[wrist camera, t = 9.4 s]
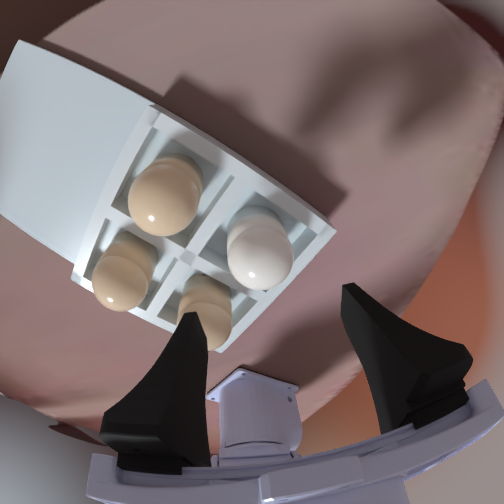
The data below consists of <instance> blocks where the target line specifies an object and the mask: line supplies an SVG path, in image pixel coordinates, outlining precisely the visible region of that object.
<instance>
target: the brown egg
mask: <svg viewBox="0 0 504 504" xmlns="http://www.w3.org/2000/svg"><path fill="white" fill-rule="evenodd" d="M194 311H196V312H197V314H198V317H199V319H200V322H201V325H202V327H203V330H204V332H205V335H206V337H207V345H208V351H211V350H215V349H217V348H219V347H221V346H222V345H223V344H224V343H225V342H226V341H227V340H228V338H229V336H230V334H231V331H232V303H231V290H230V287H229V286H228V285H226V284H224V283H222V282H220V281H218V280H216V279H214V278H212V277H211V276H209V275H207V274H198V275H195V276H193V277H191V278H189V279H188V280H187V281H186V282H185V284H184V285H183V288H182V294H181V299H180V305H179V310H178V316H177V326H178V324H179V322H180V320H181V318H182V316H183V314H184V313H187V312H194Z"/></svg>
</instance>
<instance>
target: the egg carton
mask: <svg viewBox="0 0 504 504" xmlns="http://www.w3.org/2000/svg"><path fill="white" fill-rule="evenodd" d="M168 153H180V154H184V155H187V156H189V157H190V158H192V159H193V160H194V161H195V162H196V163H197V164H198V165H199V167H200V168H201V171H202V173H203V178H204V187H203V191H202V195H201V199H200V202H199V206H198V210H197V213H196V215H195V217H194V219H193V220H192V222H191V223H190V224H189V225H188V226H187V227H186V228H185V229H183V230H182V231H180V232H178V233H176V234H174V235H170V236H155V235H151V234H149V233H147V232H145V231H143V230H142V229H141V228H139V227H138V226H137V225H136V223H135V222H134V221H133V219H132V217H131V215H130V212H129V208H128V193H129V190H130V187H131V185H132V183H133V181H134V180H135V178H136V177H137V176H138V175H139V174H140V173H141V172H142V171H143V170H144V169H145V168H146V167H148V166H149V165H150V164H151V163H152V162H153V161H154V160H155V159H157V158H158V157H160V156H162V155H164V154H168ZM254 205H258V206H264V207H267V208H269V209H271V210H273V211H274V212H275V213H276V214H277V215H278V216H279V217H280V219H281V221H282V224H283V226H284V228H285V231H286V233H287V235H288V238H289V240H290V243H291V245H292V248H293V253H294V261H293V266H292V269H291V271H290V273H289V275H288V276H287V278H286V279H285V280H284V281H283V282H282V283H280V284H279V285H278V286H276V287H274V288H271V289H267V290H254V289H250V288H247V287H245V286H243V285H242V284H241V283H239V282H238V281H237V280H236V279H235V278H234V276H233V275H232V273H231V271H230V269H229V266H228V260H227V227H228V223H229V221H230V219H231V218H232V217H233V215H234V214H235V213H236V212H238V211H239V210H241V209H243V208H245V207H248V206H254ZM0 214H1V215H3V216H4V217H5V218H7V219H8V220H9V221H11V222H12V223H14V224H15V225H16V226H18V227H19V228H21V229H22V230H23V231H25V232H26V233H28V234H29V235H31V236H32V237H33V238H35V239H36V240H38V241H39V242H41V243H42V244H44V245H45V246H47V247H48V248H50V249H52V250H53V251H55V252H56V253H58V254H59V255H61V256H63V257H64V258H66V259H67V260H69V261H71V262H72V263H74V264H75V266H74V269H73V272H72V276H71V280H73V281H74V282H76V283H78V284H79V285H81V286H83V287H84V288H86V289H88V290H90V291H91V292H93V293H94V291H93V288H92V274H93V270H94V268H95V266H96V264H97V262H98V261H99V259H100V258H101V256H102V255H103V253H104V252H105V250H106V249H107V247H108V246H109V244H110V243H111V241H112V240H113V239H114V237H115V236H117V235H118V234H120V233H122V232H127V231H129V232H131V233H133V234H134V235H136V236H138V237H140V238H141V239H143V240H145V241H147V242H148V243H150V244H152V245H154V246H155V248H156V250H157V254H158V261H157V265H156V268H155V271H154V273H153V276H152V279H151V282H150V285H149V288H148V291H147V294H146V296H145V298H144V299H143V301H142V302H141V303H140V304H139V305H138V306H136V307H135V308H133V309H131V310H128V312H130V313H132V314H134V315H136V316H138V317H140V318H142V319H144V320H147V321H149V322H151V323H153V324H155V325H157V326H159V327H161V328H163V329H166V330H168V331H170V332H172V333H174V331H175V329H176V328H177V316H178V310H179V305H180V299H181V294H182V288H183V285H184V284H185V282H186V281H187V280H188V279H189V278H191V277H193V276H195V275H198V274H207V275H209V276H211V277H212V278H214V279H216V280H218V281H220V282H222V283H224V284H226V285H228V286H229V287H230V290H231V303H232V331H231V334H230V336H229V338H228V340H227V341H226V342H225V343H224V344H223V345H222V346H221V347H219V348H217V349H215V350H214V351H217V352H219V353H222V352H223V351H224V350H225V349H226V348H227V347H228V346H229V345H230V344H231V343H232V342H233V341H234V340H235V339H236V338H237V337H238V336H239V335H240V334H241V333H242V332H243V331H244V330H245V329H246V328H247V327H248V326H249V325H250V324H251V323H252V322H253V321H254V320H255V319H256V318H257V317H258V316H259V315H260V314H261V313H262V312H263V311H264V310H265V309H266V308H267V307H268V306H269V305H270V304H271V303H272V302H273V301H274V300H275V299H276V297H277V296H278V295H279V294H280V293H281V292H282V291H283V290H284V289H285V288H286V287H287V286H288V285H289V284H290V283H291V282H292V280H293V279H294V278H295V277H296V276H297V275H298V274H299V273H300V272H301V271H302V270H303V269H304V267H305V266H306V265H307V264H308V263H309V262H310V261H311V260H312V259H313V258H314V257H315V255H316V254H317V253H318V252H319V251H320V250H321V249H322V248H323V247H324V245H325V244H326V243H327V242H328V241H329V240H330V239H331V237H332V236H333V235H334V234H335V233H336V232H337V231H336V229H335V228H334V227H333V225H332V224H331V223H330V221H329V220H328V219H327V217H326V216H324V215H323V214H322V213H320V212H319V211H318V210H316V209H315V208H314V207H312V206H311V205H310V204H308V203H307V202H306V201H304V200H303V199H302V198H300V197H299V196H298V195H296V194H295V193H294V192H292V191H291V190H289V189H288V188H287V187H285V186H284V185H283V184H281V183H280V182H278V181H277V180H276V179H274V178H273V177H271V176H270V175H268V174H267V173H266V172H264V171H263V170H261V169H260V168H258V167H257V166H255V165H254V164H253V163H251V162H250V161H248V160H247V159H245V158H244V157H242V156H241V155H239V154H238V153H236V152H235V151H233V150H232V149H230V148H229V147H227V146H225V145H224V144H222V143H221V142H219V141H218V140H216V139H215V138H213V137H211V136H210V135H208V134H207V133H205V132H203V131H202V130H200V129H199V128H197V127H195V126H194V125H192V124H190V123H189V122H187V121H185V120H184V119H182V118H180V117H179V116H177V115H175V114H174V113H172V112H170V111H168V110H167V109H165V108H163V107H162V106H160V105H158V104H156V103H154V102H153V101H151V100H149V99H147V98H145V97H144V96H142V95H140V94H138V93H136V92H134V91H133V90H131V89H129V88H127V87H125V86H123V85H121V84H119V83H117V82H115V81H113V80H111V79H110V78H108V77H106V76H104V75H101V74H99V73H97V72H95V71H93V70H91V69H89V68H87V67H85V66H83V65H81V64H78V63H76V62H74V61H72V60H70V59H67V58H65V57H63V56H61V55H58V54H56V53H54V52H51V51H49V50H46V49H44V48H41V47H39V46H36V45H34V44H31V43H29V42H26V41H23V40H18V42H17V44H16V46H15V48H14V50H13V52H12V54H11V56H10V59H9V61H8V63H7V65H6V68H5V70H4V72H3V75H2V77H1V80H0Z"/></svg>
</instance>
